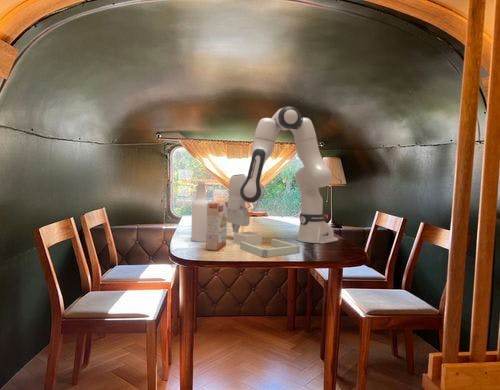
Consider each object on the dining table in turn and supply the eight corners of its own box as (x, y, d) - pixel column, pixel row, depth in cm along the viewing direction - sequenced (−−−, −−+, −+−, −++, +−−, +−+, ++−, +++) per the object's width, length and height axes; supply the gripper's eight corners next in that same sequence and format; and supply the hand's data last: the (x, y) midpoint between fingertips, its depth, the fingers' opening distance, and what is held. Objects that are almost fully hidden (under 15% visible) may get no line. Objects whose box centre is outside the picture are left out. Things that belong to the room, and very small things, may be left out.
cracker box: (218, 251, 149) (219, 203, 147) (205, 250, 150) (206, 202, 149) (227, 244, 162) (228, 201, 161) (215, 244, 164) (215, 200, 162)
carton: (249, 241, 175) (249, 231, 174) (262, 244, 167) (262, 234, 166) (233, 243, 168) (233, 233, 168) (245, 246, 161) (246, 236, 160)
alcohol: (192, 238, 175) (193, 180, 174) (209, 239, 176) (210, 180, 174) (190, 242, 167) (191, 180, 165) (208, 242, 167) (209, 181, 165)
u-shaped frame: (273, 244, 166) (273, 238, 165) (299, 252, 150) (299, 246, 149) (240, 248, 155) (240, 241, 155) (264, 257, 139) (264, 250, 139)
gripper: (253, 207, 168) (251, 235, 169) (231, 204, 185) (230, 229, 186) (242, 207, 165) (241, 236, 166) (221, 204, 182) (220, 229, 183)
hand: (235, 232), depth 176 cm, fingers closed
